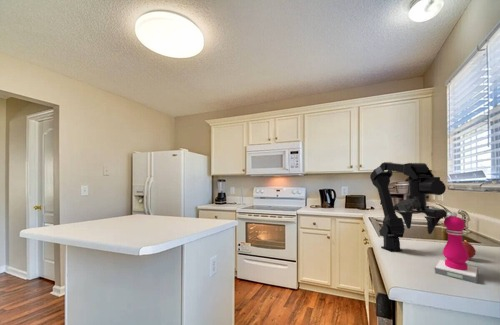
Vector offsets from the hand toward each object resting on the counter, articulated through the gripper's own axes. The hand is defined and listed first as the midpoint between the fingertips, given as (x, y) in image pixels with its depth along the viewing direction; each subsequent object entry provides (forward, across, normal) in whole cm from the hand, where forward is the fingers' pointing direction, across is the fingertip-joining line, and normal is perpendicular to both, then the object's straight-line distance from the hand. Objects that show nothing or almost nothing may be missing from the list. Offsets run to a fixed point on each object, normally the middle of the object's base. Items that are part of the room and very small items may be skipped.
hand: (418, 231), depth 95 cm
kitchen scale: (+13, +11, +4) cm, 17 cm away
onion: (+13, +1, +24) cm, 27 cm away
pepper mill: (+11, +11, +4) cm, 16 cm away
